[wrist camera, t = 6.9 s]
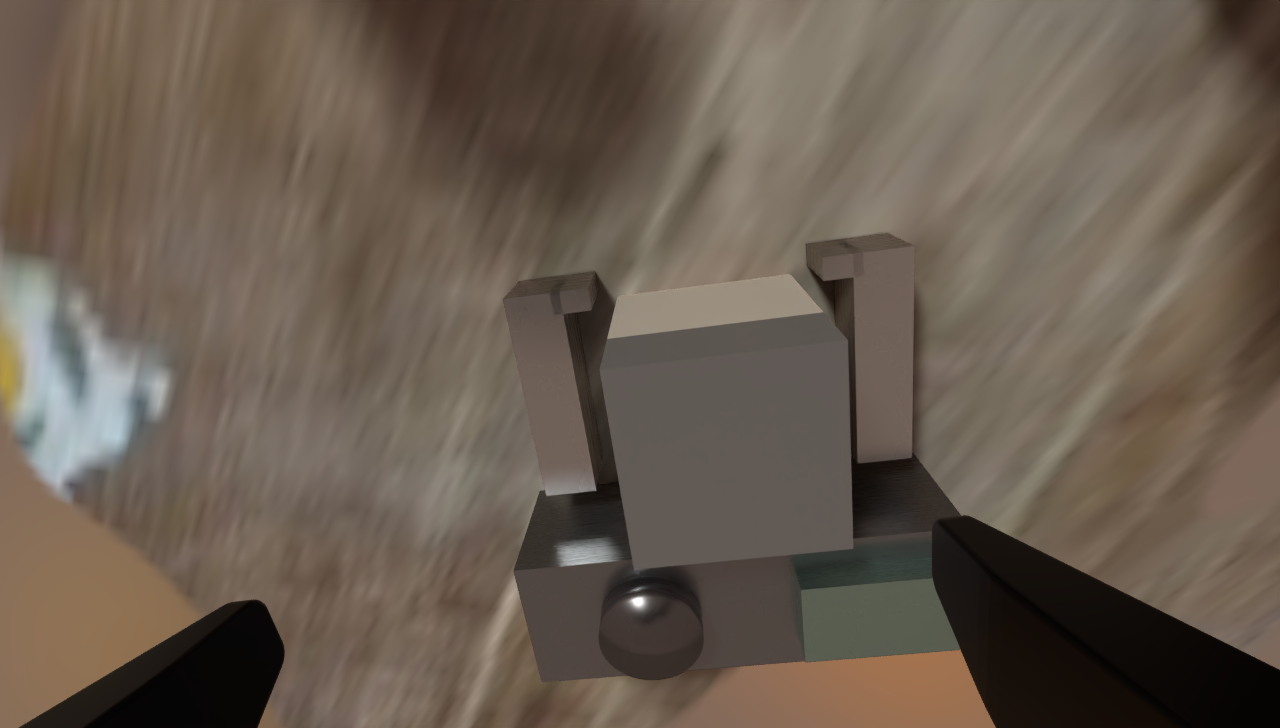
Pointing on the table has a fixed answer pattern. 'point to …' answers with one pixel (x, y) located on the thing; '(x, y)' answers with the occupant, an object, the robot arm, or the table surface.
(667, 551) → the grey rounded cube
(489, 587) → the table surface
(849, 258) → the knobbed block assembly
